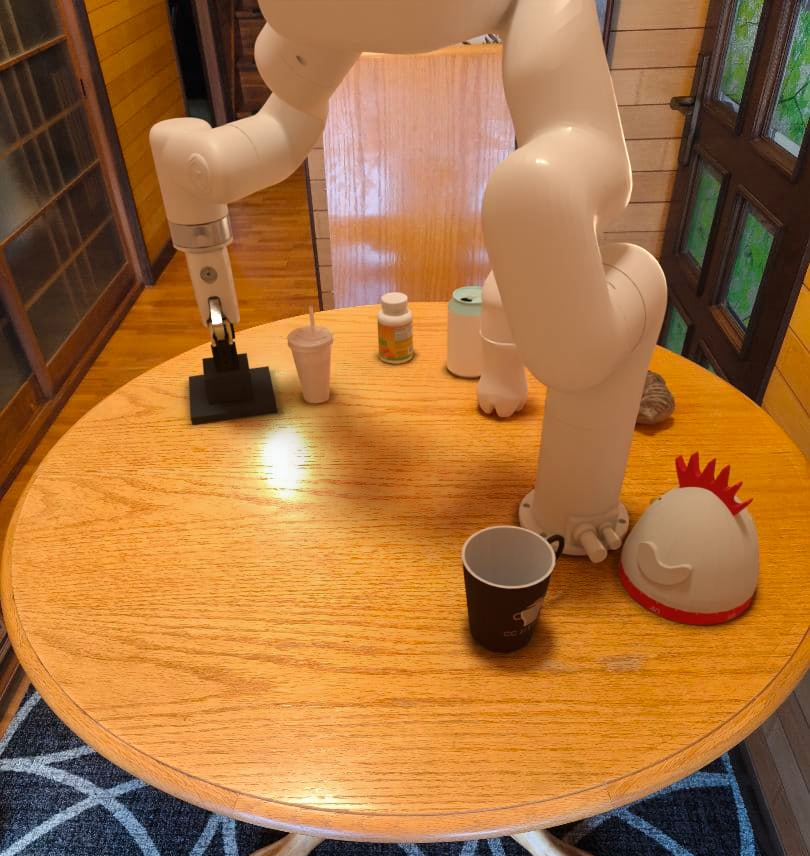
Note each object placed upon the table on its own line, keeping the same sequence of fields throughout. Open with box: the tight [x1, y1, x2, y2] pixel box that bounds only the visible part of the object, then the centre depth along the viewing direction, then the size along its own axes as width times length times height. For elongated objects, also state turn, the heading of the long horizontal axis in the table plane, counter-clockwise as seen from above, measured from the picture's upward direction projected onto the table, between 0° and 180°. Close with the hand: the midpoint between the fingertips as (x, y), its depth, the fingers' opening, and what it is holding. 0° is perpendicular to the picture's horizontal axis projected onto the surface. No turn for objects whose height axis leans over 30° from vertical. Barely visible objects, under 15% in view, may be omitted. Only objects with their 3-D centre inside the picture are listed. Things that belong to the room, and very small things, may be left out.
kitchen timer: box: [617, 450, 760, 626], centre depth 77 cm, size 14×14×15 cm
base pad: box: [188, 365, 279, 426], centre depth 111 cm, size 12×12×3 cm
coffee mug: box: [461, 525, 565, 654], centre depth 74 cm, size 12×9×10 cm
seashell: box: [635, 369, 676, 425], centre depth 104 cm, size 9×7×8 cm
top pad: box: [201, 352, 254, 404], centre depth 110 cm, size 6×6×4 cm
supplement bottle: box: [376, 291, 414, 365], centre depth 118 cm, size 5×5×10 cm
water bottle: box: [475, 269, 529, 418], centre depth 100 cm, size 7×7×25 cm
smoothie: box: [286, 304, 335, 404], centre depth 107 cm, size 6×6×14 cm
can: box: [446, 285, 483, 379], centre depth 113 cm, size 7×7×12 cm
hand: (226, 354), depth 107 cm, fingers open, 9 cm apart
